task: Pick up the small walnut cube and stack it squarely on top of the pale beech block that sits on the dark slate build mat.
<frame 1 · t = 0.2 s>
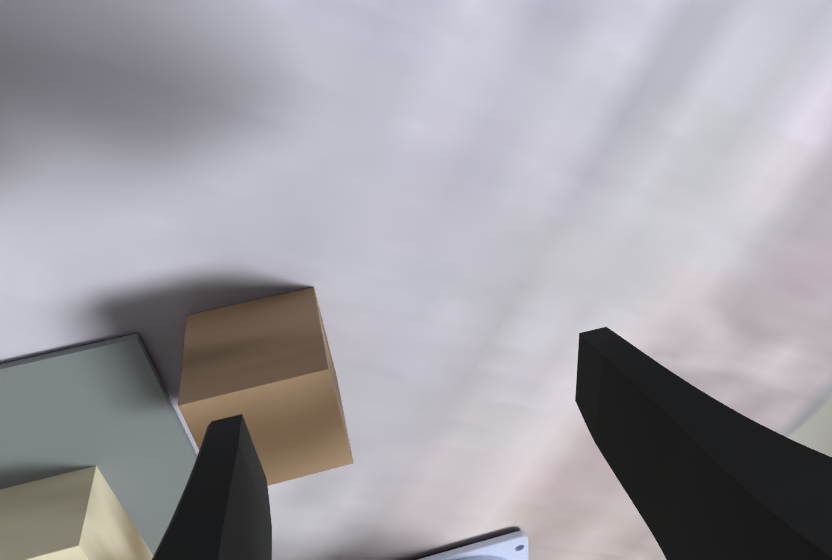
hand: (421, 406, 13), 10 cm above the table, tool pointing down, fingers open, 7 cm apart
beech block: (43, 541, 26), resting on slate mat
slate mat: (44, 534, 27), on the table
walnut cube: (266, 346, 24), on the table
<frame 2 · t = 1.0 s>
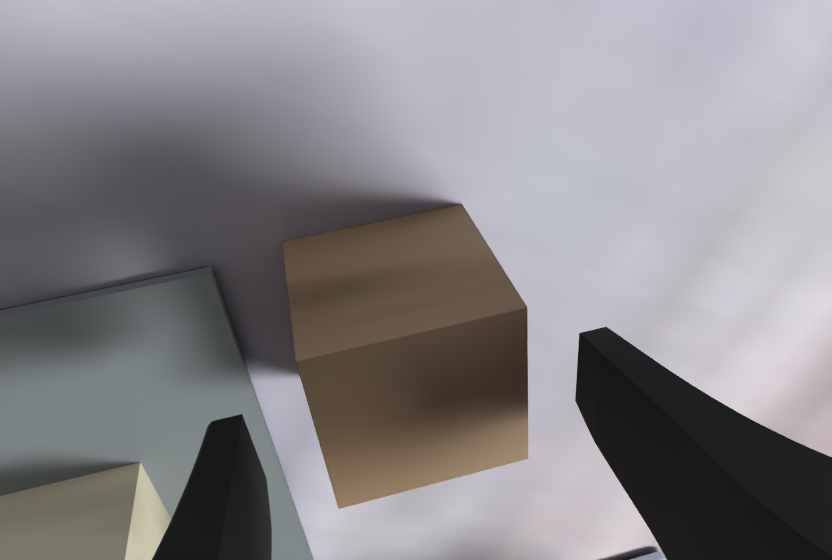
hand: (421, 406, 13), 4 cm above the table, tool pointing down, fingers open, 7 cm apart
slate mat: (64, 557, 20), on the table
walnut cube: (385, 294, 17), on the table
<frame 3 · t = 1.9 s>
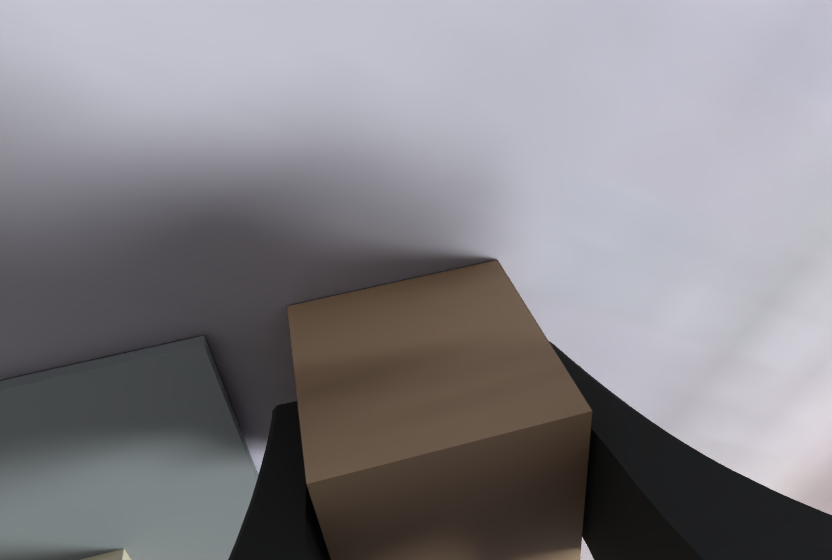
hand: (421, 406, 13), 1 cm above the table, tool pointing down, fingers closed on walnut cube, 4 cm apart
walnut cube: (406, 361, 15), on the table, touching gripper
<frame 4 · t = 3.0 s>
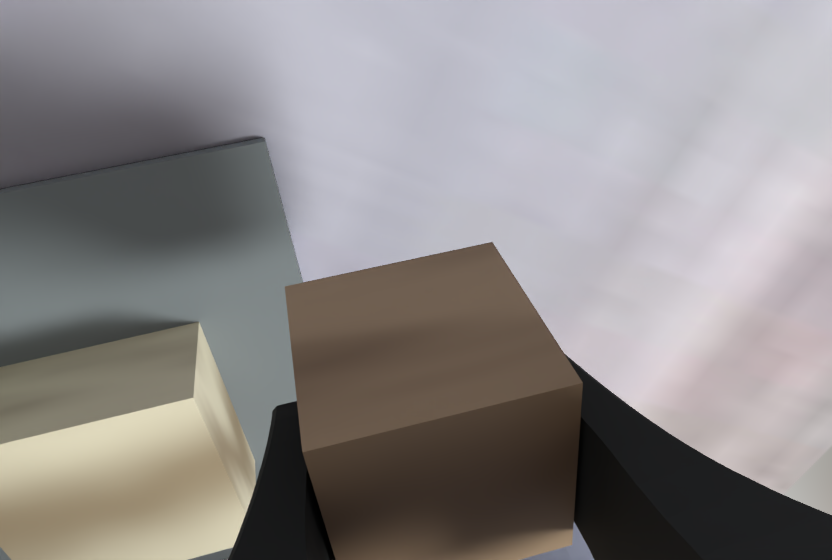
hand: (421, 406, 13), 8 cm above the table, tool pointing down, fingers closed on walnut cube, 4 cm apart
beech block: (128, 422, 22), resting on slate mat
slate mat: (129, 416, 22), on the table
walnut cube: (402, 344, 15), point 7 cm above the table, touching gripper
when the fingers open (6 cm above the table, at t = 4.4 s): walnut cube stays where it is, resting on beech block.
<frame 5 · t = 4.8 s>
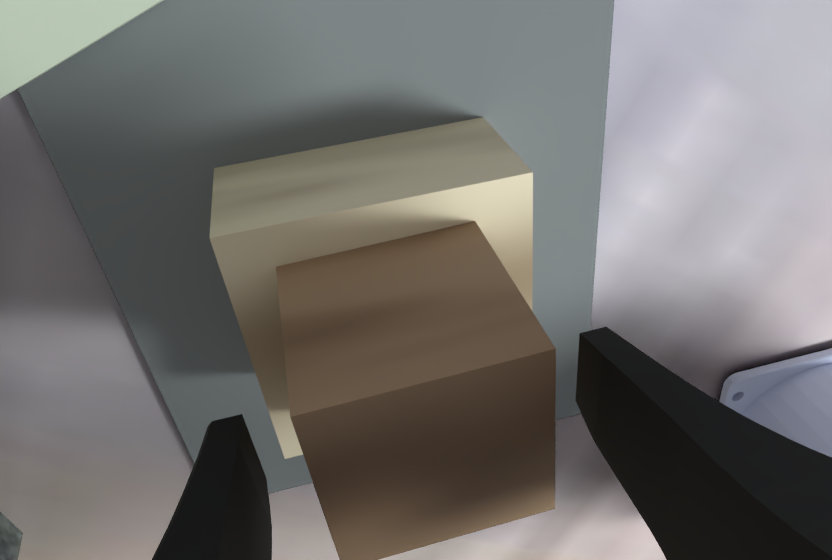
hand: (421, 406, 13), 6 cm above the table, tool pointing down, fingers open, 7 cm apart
beech block: (371, 255, 18), resting on slate mat, touching walnut cube
slate mat: (370, 250, 19), on the table
walnut cube: (392, 321, 15), point 4 cm above the table, touching beech block
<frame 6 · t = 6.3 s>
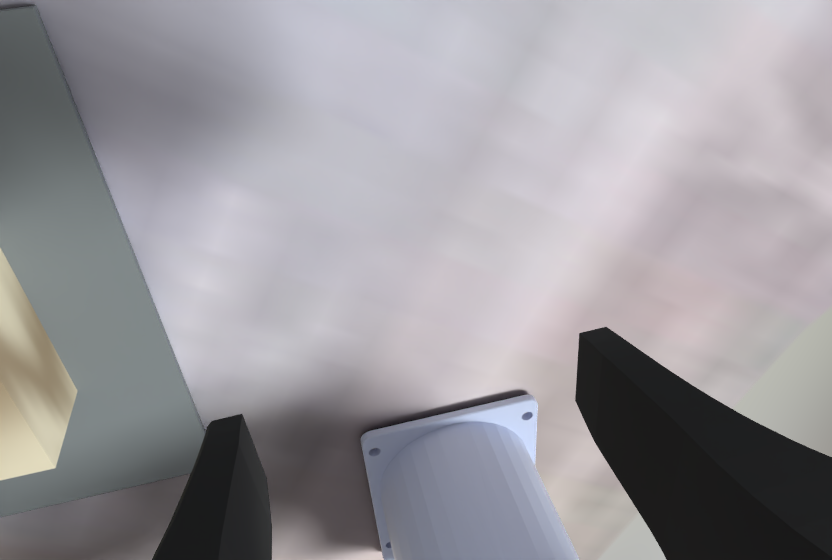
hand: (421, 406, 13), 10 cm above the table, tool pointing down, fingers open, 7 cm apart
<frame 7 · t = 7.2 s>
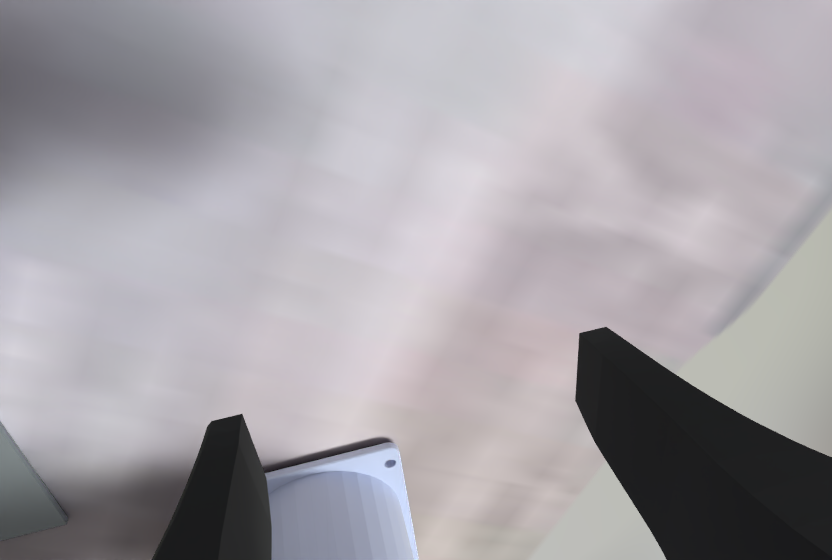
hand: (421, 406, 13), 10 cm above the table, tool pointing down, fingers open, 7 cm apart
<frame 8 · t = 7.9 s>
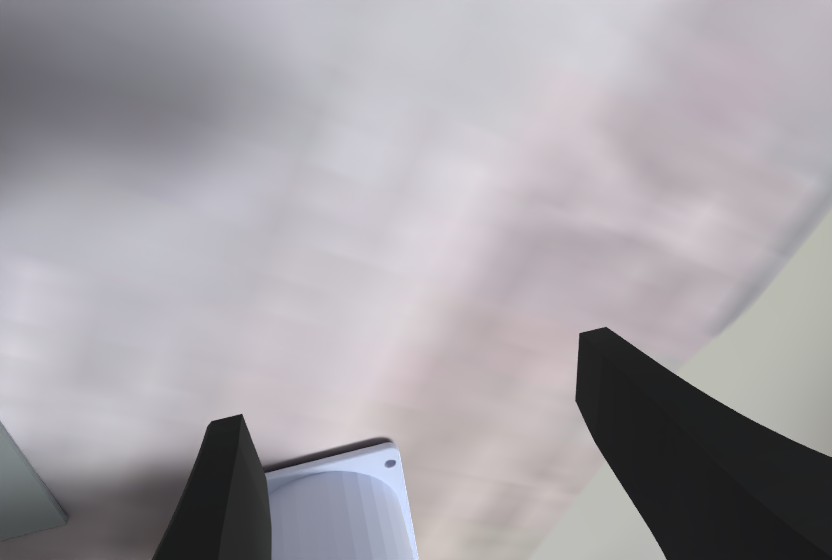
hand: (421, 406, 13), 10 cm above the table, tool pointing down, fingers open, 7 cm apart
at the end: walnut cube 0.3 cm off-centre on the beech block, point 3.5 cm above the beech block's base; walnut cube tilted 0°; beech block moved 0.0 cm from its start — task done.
